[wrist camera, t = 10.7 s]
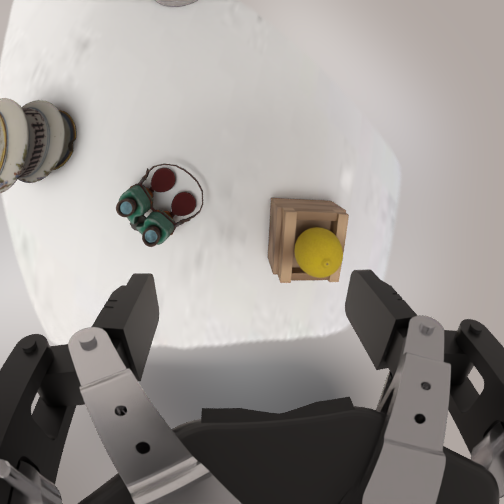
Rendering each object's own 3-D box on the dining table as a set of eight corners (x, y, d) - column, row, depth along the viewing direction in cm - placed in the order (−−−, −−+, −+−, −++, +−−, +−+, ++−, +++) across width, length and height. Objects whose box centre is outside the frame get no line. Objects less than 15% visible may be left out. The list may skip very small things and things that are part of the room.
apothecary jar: (76, 180, 36) (0, 208, 20) (24, 173, 35) (-50, 198, 18) (89, 103, 32) (12, 90, 16) (33, 103, 31) (-42, 101, 14)
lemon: (339, 233, 36) (361, 254, 28) (316, 268, 37) (333, 296, 30) (304, 212, 35) (319, 229, 27) (281, 249, 36) (291, 275, 29)
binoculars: (214, 208, 30) (148, 265, 31) (213, 196, 40) (162, 240, 41) (161, 145, 27) (97, 207, 28) (173, 149, 37) (123, 196, 38)
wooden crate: (271, 198, 40) (280, 211, 32) (330, 200, 41) (353, 215, 33) (267, 256, 43) (275, 282, 35) (324, 257, 44) (342, 281, 36)
